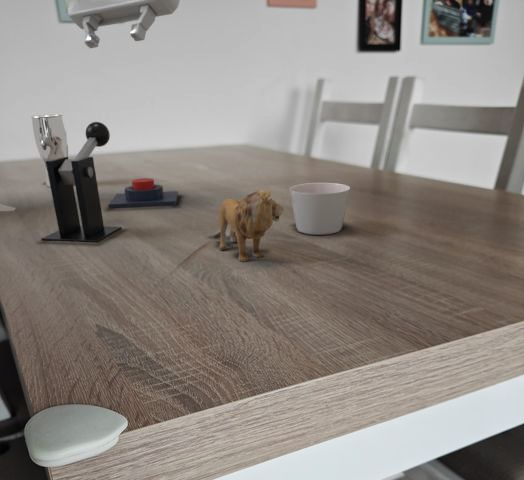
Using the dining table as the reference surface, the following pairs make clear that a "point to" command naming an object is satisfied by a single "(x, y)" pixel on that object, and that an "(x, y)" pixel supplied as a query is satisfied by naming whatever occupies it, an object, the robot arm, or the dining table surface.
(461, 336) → the dining table surface
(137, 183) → the button
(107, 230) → the bracket
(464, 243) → the dining table surface
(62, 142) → the beer glass
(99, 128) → the lever
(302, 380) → the dining table surface
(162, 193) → the button box
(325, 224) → the white ramekin
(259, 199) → the lion figurine
